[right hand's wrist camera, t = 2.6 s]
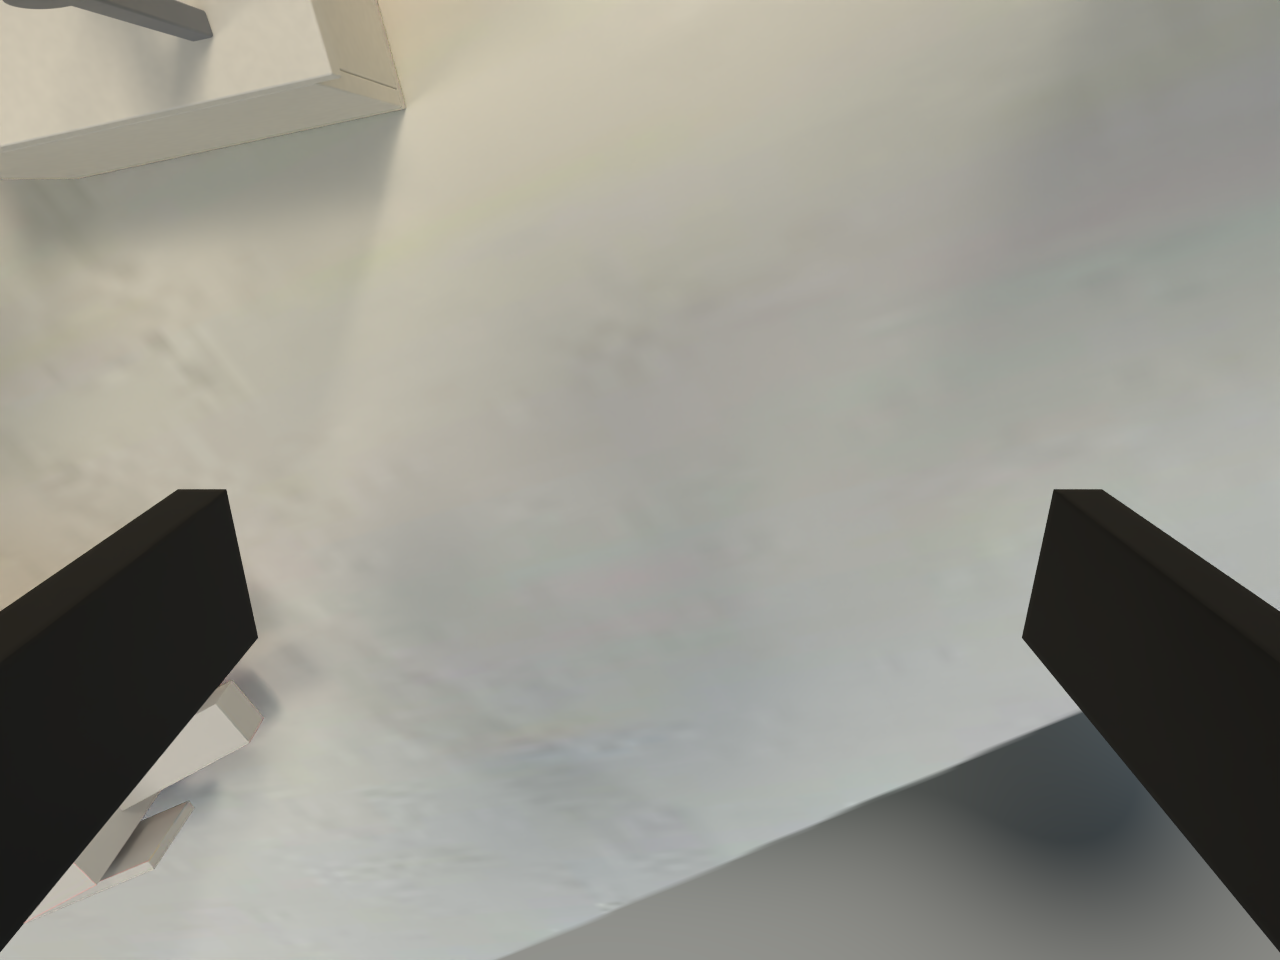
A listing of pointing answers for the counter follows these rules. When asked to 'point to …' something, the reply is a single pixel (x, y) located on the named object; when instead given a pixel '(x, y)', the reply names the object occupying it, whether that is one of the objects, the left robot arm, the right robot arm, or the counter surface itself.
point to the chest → (236, 110)
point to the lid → (148, 60)
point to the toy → (142, 844)
